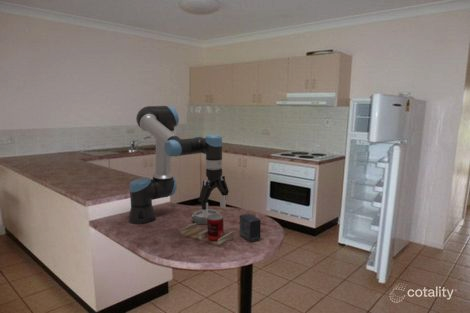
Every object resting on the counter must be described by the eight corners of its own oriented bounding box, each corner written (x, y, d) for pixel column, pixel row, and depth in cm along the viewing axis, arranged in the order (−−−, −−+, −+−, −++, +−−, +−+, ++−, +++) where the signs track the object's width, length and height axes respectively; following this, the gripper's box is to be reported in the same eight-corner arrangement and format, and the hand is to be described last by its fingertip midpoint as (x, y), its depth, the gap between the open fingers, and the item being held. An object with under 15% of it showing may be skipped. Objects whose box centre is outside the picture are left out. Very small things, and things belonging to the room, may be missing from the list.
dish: (222, 219, 189) (222, 211, 188) (207, 227, 177) (207, 218, 176) (203, 215, 196) (202, 207, 196) (187, 222, 185) (187, 213, 184)
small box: (261, 240, 159) (261, 219, 157) (249, 242, 156) (249, 221, 154) (250, 232, 168) (250, 213, 167) (239, 235, 165) (238, 215, 164)
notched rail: (181, 236, 165) (180, 229, 164) (195, 229, 174) (195, 222, 173) (219, 247, 152) (219, 239, 151) (233, 239, 161) (232, 232, 160)
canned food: (221, 234, 164) (221, 212, 162) (225, 240, 156) (225, 217, 154) (206, 235, 162) (205, 214, 160) (209, 242, 154) (209, 219, 152)
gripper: (203, 174, 141) (203, 221, 145) (235, 164, 162) (235, 206, 165) (189, 172, 145) (190, 217, 149) (223, 163, 166) (223, 203, 169)
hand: (214, 211), depth 157 cm, fingers open, 13 cm apart
